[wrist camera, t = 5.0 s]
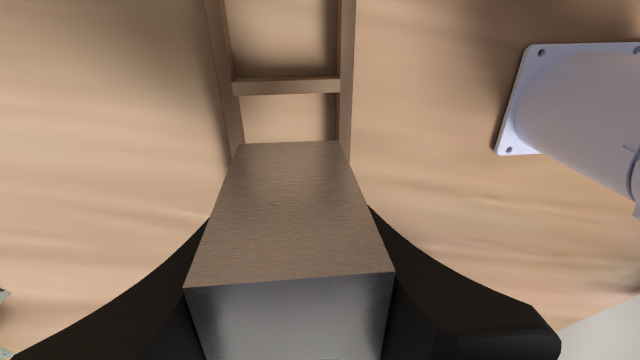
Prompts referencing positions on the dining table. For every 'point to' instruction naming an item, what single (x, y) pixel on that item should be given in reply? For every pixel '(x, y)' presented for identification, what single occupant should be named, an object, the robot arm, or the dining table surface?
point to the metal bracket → (3, 352)
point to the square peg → (290, 260)
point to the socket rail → (283, 85)
